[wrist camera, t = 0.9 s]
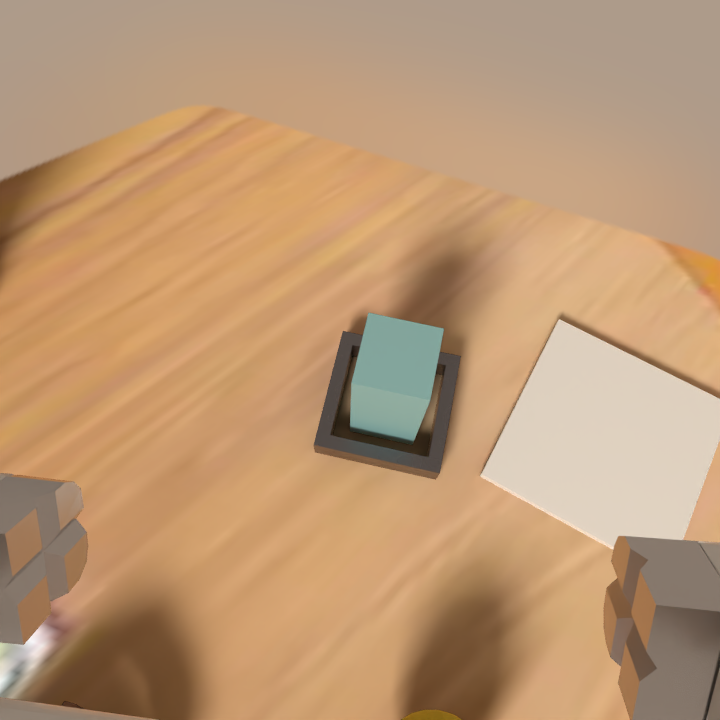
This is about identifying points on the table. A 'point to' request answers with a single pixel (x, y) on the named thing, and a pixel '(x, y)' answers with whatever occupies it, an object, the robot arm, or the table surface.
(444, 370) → the metal cradle
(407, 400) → the teal block
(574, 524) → the white mat
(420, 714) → the lemon
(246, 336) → the table surface
